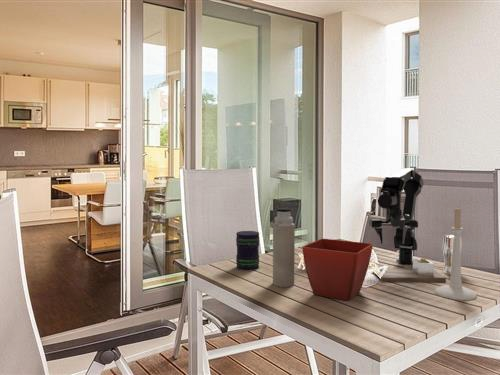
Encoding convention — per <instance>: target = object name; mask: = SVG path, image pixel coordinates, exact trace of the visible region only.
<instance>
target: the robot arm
mask: <svg viewBox="0 0 500 375" xmlns="http://www.w3.org/2000/svg"><path fill="white" fill-rule="evenodd" d="M423 187H424V180H423V177H422V176H421V175H420V174H419V173H417V172H416V170H415V169H414V168H402V169H401V171H399V172H398V173H396V174H395V175H386V176H385V178H384V179H383V182H382V186H381V189H380V193H382V194H381V195H379V196H378V199H377V204H378V206H379V207H380V208H382V209H385V218H384V219H385V220H381V219H379V218H370V219H369V220H368V226H369V227H370V228H372V229H374V230H375V233H376V235H377V237H378V240H379V243H380V245H383V227H382V226H392V227H394V228H396V229H395V234H394V236H393V243H394V244H393V245H394V249H398V259H396V260H395V261H396V262H397V263H398V264H401V265H407V264H408V265H413V256H414V255H413V251H417V250H418V242H417V239H416V233H415V232H414V231H415V229H416V228H419V222H418V221H417V220H416V219H414V217H415V216H414V215H415V208H416V202H417V197H418V196H419V195H420V194H421V192H422V189H423ZM402 192H404V194H405V197H404V205H403V210H402V208H401V207H402V194H403V193H402Z"/></svg>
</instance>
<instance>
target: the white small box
mask: <svg viewBox="0 0 500 375" xmlns="http://www.w3.org/2000/svg"><path fill="white" fill-rule="evenodd" d="M412 261H413V264H412V269H413V272H415V273H416V274H417V275H434V271H435V263H434V262H432V261H431V260H428V259H426V263H421V259H412Z"/></svg>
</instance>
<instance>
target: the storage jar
mask: <svg viewBox="0 0 500 375" xmlns="http://www.w3.org/2000/svg"><path fill="white" fill-rule="evenodd" d="M235 239H236V240H235V242H236V255H235V257H236V259H235V261H236V269H237V270H240V271H246V272H247V271H257V270H258V269H260V254H259V247H260V232H259V231H256V230H242V231H237V232H236V238H235Z"/></svg>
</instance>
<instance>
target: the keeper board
mask: <svg viewBox="0 0 500 375" xmlns="http://www.w3.org/2000/svg"><path fill="white" fill-rule="evenodd" d="M420 260H421V263H426V260H427V259H426V258H420ZM380 282H393V283H394V282H399V283H400V282H405V283H406V282H407V283H410V282H411V283H412V282H413V283H419V282H420V283H423V282H424V283H425V282H426V283H429V282H430V283H446V282H447V278H446V277H445V276H444V275H442V274H441V273H439V272H438V271H436V270H434V275H417V274H416V273H415V272H413V268H396V267H395V268H391V267H390V268H387V270H386V272H385V273H384V274H383V276H382V277H381V279H380Z"/></svg>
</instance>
